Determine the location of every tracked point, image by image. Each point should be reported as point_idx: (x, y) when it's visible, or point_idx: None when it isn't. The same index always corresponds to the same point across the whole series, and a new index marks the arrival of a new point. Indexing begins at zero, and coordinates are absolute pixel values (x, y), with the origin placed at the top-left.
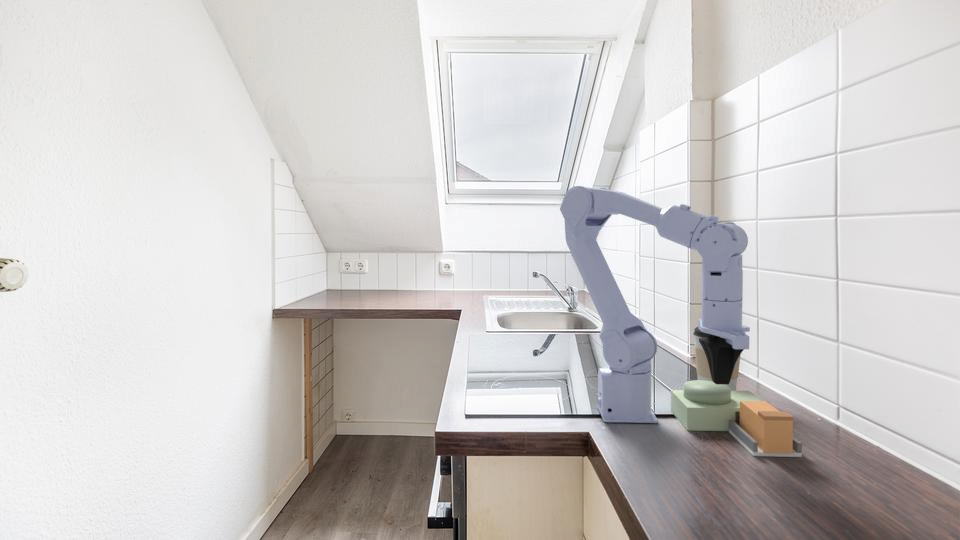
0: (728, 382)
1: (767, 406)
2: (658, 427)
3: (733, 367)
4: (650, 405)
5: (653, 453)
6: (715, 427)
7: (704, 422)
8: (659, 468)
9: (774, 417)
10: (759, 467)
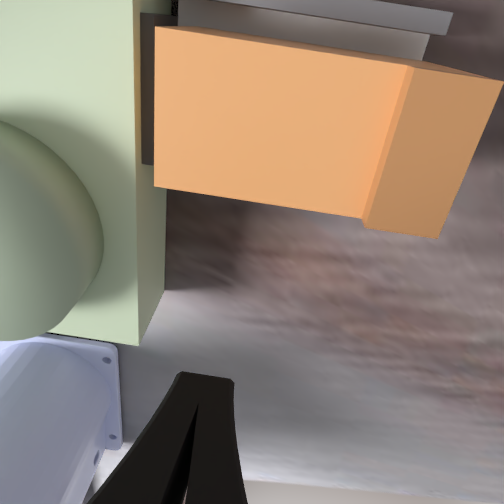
0: (232, 392)
1: (248, 78)
2: (142, 349)
3: (244, 496)
4: (56, 379)
5: (301, 414)
6: (163, 215)
7: (155, 258)
8: (374, 430)
9: (456, 189)
10: (445, 225)
